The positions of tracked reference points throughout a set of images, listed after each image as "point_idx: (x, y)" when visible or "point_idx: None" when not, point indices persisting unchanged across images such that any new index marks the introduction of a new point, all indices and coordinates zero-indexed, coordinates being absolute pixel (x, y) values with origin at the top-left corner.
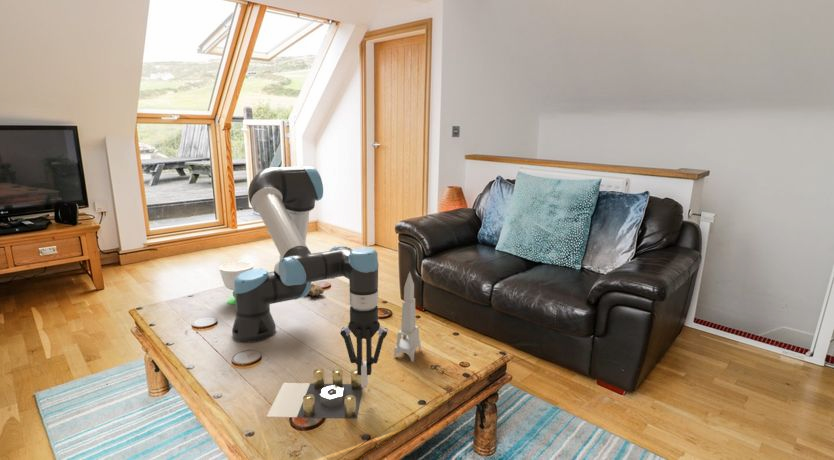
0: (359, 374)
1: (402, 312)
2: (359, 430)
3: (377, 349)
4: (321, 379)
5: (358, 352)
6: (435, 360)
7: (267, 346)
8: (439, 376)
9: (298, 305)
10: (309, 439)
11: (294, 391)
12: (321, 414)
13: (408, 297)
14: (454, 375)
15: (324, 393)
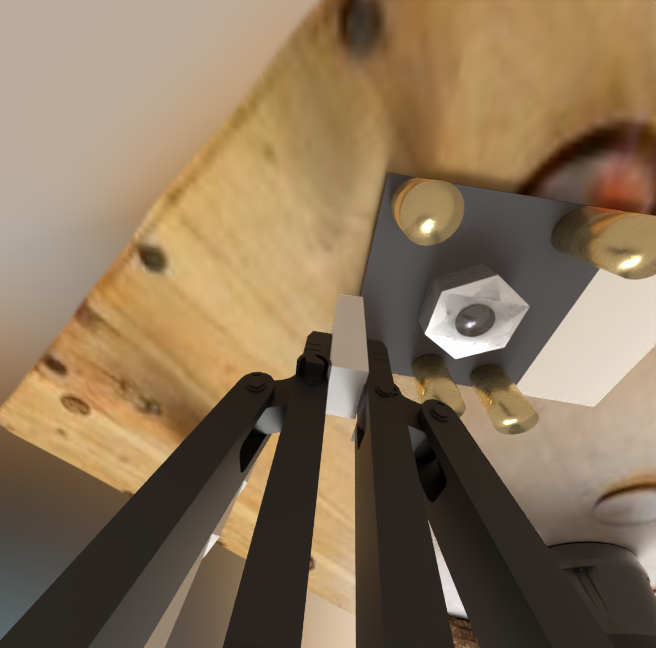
0: (374, 341)
1: (165, 640)
2: (385, 90)
3: (174, 500)
4: (497, 389)
5: (405, 490)
6: (153, 428)
7: (565, 526)
8: (127, 370)
9: (454, 599)
10: (643, 31)
11: (577, 364)
12: (529, 219)
13: None
14: (87, 368)
15: (508, 315)
